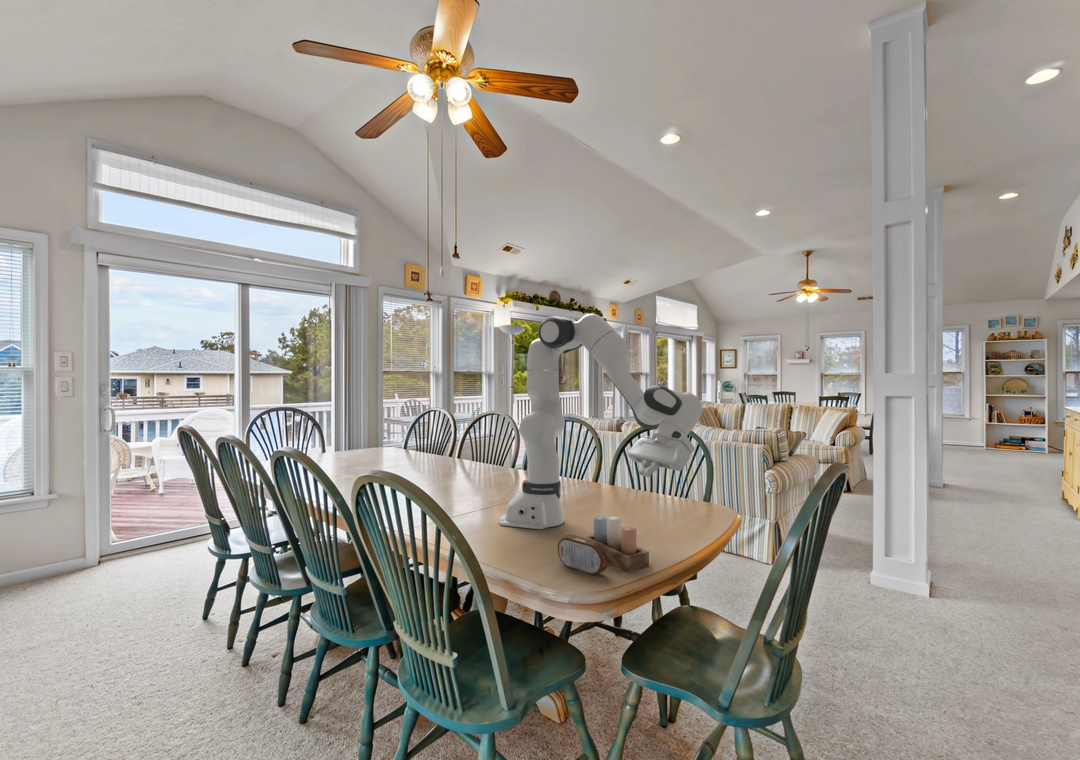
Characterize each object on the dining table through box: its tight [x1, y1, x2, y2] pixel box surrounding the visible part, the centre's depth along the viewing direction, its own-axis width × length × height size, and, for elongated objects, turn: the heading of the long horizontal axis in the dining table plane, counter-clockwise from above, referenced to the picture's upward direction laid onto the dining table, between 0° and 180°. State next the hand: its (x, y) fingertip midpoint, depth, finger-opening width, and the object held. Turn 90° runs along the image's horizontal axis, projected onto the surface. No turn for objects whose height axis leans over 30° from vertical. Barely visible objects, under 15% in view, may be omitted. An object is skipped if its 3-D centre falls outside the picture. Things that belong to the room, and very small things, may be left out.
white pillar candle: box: [607, 515, 623, 548], centre depth 141 cm, size 4×4×8 cm
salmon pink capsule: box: [621, 526, 637, 555], centre depth 136 cm, size 4×4×8 cm
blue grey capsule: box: [593, 515, 607, 542], centre depth 146 cm, size 4×4×8 cm
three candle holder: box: [581, 534, 650, 574], centre depth 141 cm, size 19×8×4 cm, turn 31°
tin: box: [557, 534, 609, 576], centre depth 133 cm, size 15×3×8 cm, turn 48°
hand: (643, 475), depth 147 cm, fingers closed
